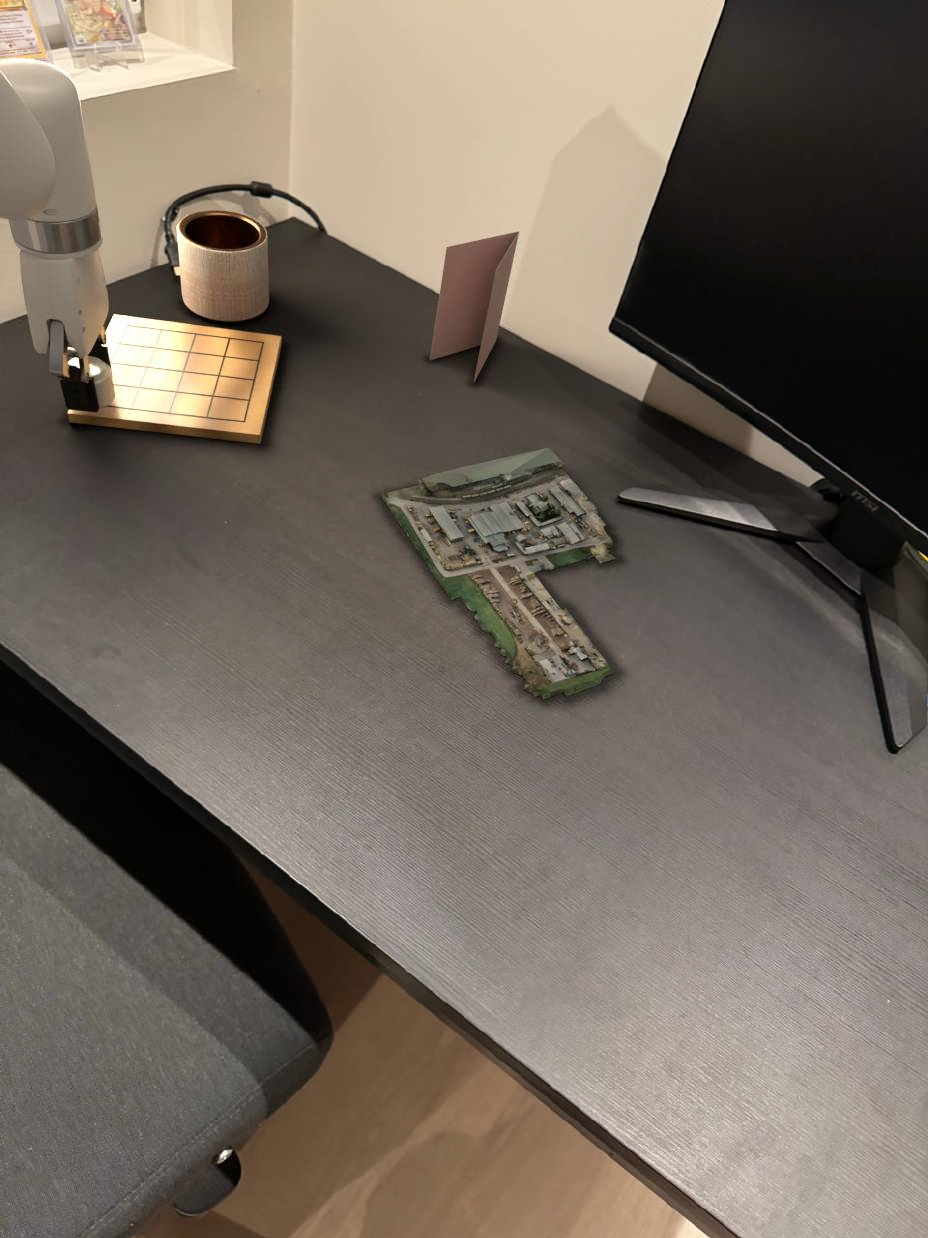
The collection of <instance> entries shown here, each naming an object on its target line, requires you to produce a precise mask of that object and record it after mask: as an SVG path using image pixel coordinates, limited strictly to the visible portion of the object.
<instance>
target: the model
mask: <svg viewBox="0 0 928 1238" xmlns="http://www.w3.org/2000/svg"><path fill="white" fill-rule="evenodd" d="M563 466H564V463H563V461H562V460H561V459H560V458H559V456H557V455H556V454H555V453H554V451H553V450H552V449H551V448H550V447H545V448H540V449H537V450H532V451H527V452H522V453H517V454H514V455H509V456H505V457H502V458H501V457H500V458H496V459H493V460H492V459H491V460H488V461H483V462H479V463H475V464H471V465H465V466H461V467H457V468H453V469H448V470H444V471H441V472H436V473H431V474H427V475H422V476H419V477H413V478H412V480H418V485H415V486H410V487H406V488H401V489H397V490H392V491H389V492H387V490H386V488H383V491H382V493H381V498H382V500H383V501H384V503H385V505H386V506H387V507H388V509H389V510H390V512H391V513H392V515H393V516H394V518H395V519H396V521H397V522H398V523H399V525H400V527H401V528H402V530H403V531H404V533H405V534H406V535H407V537H408V539H409V540H410V542H411V543H412V544H413V546H414V548H415V549H416V551H417V552H418V554H419V555H420V557H421V558H422V560H423V561H424V562H425V565H427V567H428V569H429V570H430V571H431V573H432V574H433V576H434V578H435V579H436V581H437V582H438V583H439V585H440V586H441V588H442V589H443V591H444V592H445V594H446V596H447V597H448V598H449V599H450V601H451V600H456V599H459V598H460V599H461V600H462V602H463V603H464V605H465V606H466V608H467V609H468V610H469V611H471V612H472V613H475V612H476V614H475V615H474V616H473V618H474V619H475V621H476V622H477V624H478V626H479V627H480V628H481V630H483V631H484V632H486V633H490V634H491V635H492V637H493V638H494V644H493V647H495V648H498V649H500V652H499V656H503V657H506V660H505V664H507V665H509V666H512V668H511V673H514V674H516V675H519V676H522V680H524V682H525V684H524V688H523V691H525V692H528V693H532V695H533V697H534V698H537V697H540V698H541V699H542V700H543V701H545V700H547V699H550V698H553V697H555V696H558V695H561V694H563V695H564V696H565V697H566V698H568V697H570V696H572V695H575V694H578V693H580V692H584V691H586V690H588V689H591V688H594V687H596V686H598V685H600V684H601V682H602V681H604V679H605V678H606V677H608V676H610V675H613V674H615V673H616V672H615V671H614V669H613V668H612V667H611V665H610V664H609V662H608V661H607V660H606V658H605V657H604V655H602V654H601V653H600V651H599V649H598V648H597V647H596V646H595V644H594V643H593V642H592V641H591V639H590V638H589V636H588V635H587V634H586V632H585V631H584V629H582V627H581V626H580V625H579V623H578V622H577V621H576V620H575V618H574V617H573V615H572V614H571V613H570V611H568V609H567V608H566V607H564V609H563V608H561V607H560V606H559V605H558V603H557V601H555V599H554V598H553V596H552V595H551V594H550V593H549V592H548V590H547V589H546V588H545V586H544V585H543V584H542V582H541V581H540V580H539V578H538V577H537V576H536V573H538V572H540V571H544V570H545V571H551V570H554V569H558V568H561V567H564V566H568V565H571V564H574V563H577V562H580V561H584V560H586V561H589V560H590V559H591V558H595V560H597V561H598V563H599V564H602V563H606V562H610V561H612V560H616V559H617V557H616V556H614V555H613V554H611V553H610V552H611V550H610V549H609V548H612V547H613V543H614V542H613V540H612V538H611V536H610V535H608V534H607V532H606V530H605V529H606V527H607V524H606V522H605V521H604V520H603V519H602V517H603V515H599V513H598V509H597V507H596V505H594V503H593V502H592V501H591V500H589V498H588V496H587V495H586V494H585V493H584V491H583V490H582V489H581V488H580V487H579V486H578V485H577V484H576V483H575V481H574V480H573V479H572V478H571V477H570V476H569V474H568V473H567V472H566V471H565V470H564V469H563Z"/></svg>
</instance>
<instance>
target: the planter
mask: <svg viewBox="0 0 928 1238" xmlns="http://www.w3.org/2000/svg"><path fill="white" fill-rule="evenodd" d="M268 237H269V236H268V231H267V229H266V227H265V226H264V225H263V224H262V223H261V222H260V221H258V220H257V219H254V218H253V217H250V216H248V215H245V214H242V213H238V212H235V211H228V210H217V209H216V210H215V209H214V210H212V209H211V210H201V211H196V212H192V213H190V214H187V215H186V216H184V217H182V218H181V219H180V220H179V221H178V223H177V225H176V238H177V248H178V261H179V277H180V289H181V297H182V301H183V304H184V305H185V306H186V308H188V310H190V311H191V312H192V313H194V314H196V315H197V316H199V317H201V318H204V319H206V320H209V321H213V322H218V323H230V324H232V323H234V324H235V323H243V322H246V321H250V320H252V319H256V318H257V317H259V316H260V315H262V314H263V313H264V312H265V311H266V310H267V308H268V306H269V303H270V280H269V248H268V247H269V243H268V241H269V239H268Z"/></svg>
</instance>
